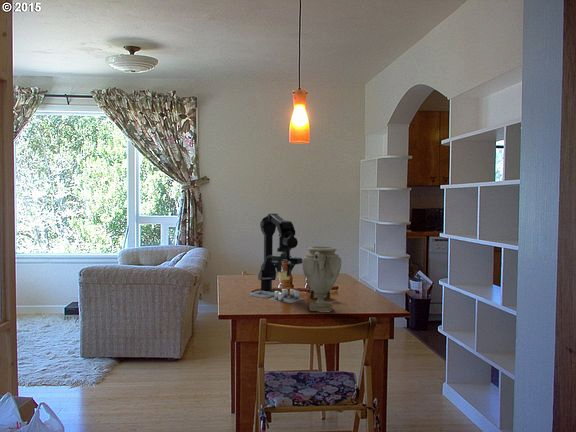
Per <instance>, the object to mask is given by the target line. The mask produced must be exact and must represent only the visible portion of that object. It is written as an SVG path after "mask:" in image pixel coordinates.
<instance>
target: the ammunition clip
mask: <svg viewBox="0 0 576 432" xmlns="http://www.w3.org/2000/svg"><path fill="white" fill-rule="evenodd" d="M315 294H316V293H315V292H314V291H313V290H312V289H311V288H309V299H310V300H311V299H312V300H317V296H316V295H315ZM324 299H331V290H330V291H329V292H327V293H326V295H325V297H324Z"/></svg>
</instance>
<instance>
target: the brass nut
mask: <svg viewBox="0 0 576 432" xmlns="http://www.w3.org/2000/svg"><path fill="white" fill-rule="evenodd" d="M277 275H278V276H277V277H278V278H277V279H278V280H281V281H282V280H283V281H287V280H288V281H289V280H290V276H289V277H287V270H281V271H279V272H277Z"/></svg>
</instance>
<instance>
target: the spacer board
mask: <svg viewBox="0 0 576 432" xmlns="http://www.w3.org/2000/svg"><path fill="white" fill-rule="evenodd" d="M267 300H268V301H273V302H274V301H275V302H283V303H287V304H294V303H296V302H300V301H303V300H305V298H304V297H299V299H294V298H290V295H287V298H284V301H278V300H275V299H274V297H270V298H269V299H267Z"/></svg>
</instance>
